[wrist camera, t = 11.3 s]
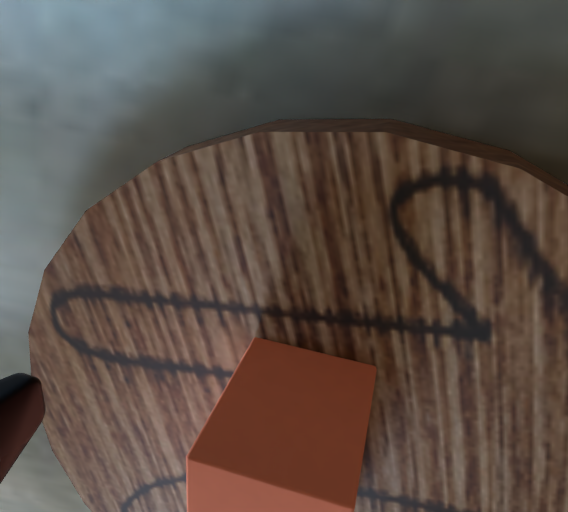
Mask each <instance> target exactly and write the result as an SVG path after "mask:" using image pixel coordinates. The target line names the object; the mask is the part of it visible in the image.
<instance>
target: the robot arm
mask: <svg viewBox="0 0 568 512" xmlns="http://www.w3.org/2000/svg"><path fill="white" fill-rule="evenodd" d="M45 411H46V406H45V400H44V395H43V389H42V384H41V381H40V380H39V378H37V377H34V376H31V375H28V374H24V373H16V374H13V375H11V376H8V377H6V378H3V379H1V380H0V483H1V482H2V480H3V479H4V477H5V476H6V474H7V473H8V471H9V470H10V468H11V467H12V465H13V464H14V462H15V461H16V460H17V458H18V457H19V455H20V454H21V452H22V451H23V449H24V448H25V446H26V445H27V443H28V442H29V440H30V439H31V437H32V436H33V434H34V433H35V431H36V430H37V428H38V427H39V425H40V424H41V422H42V420H43V418H44V416H45Z"/></svg>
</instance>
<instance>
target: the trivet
mask: <svg viewBox="0 0 568 512" xmlns="http://www.w3.org/2000/svg"><path fill="white" fill-rule="evenodd" d="M28 333H29V348H30V363H31V376H34V377H37V378H39V380H40V381H41V384H42V389H43V395H44V400H45V406H46V411H45V416H44V418H43V420H42V422H43V425H44V428H45V431H46V434H47V437H48V439H49V442H50V445H51V448H52V451H53V453H54V454H55V456H56V457H57V459H58V461H59V462H60V464H61V466H62V467H63V469H64V471H65V472H66V474H67V475H68V477H69V479H70V480H71V482H72V484H73V485H74V487H75V489H76V490H77V492H78V494H79V495H80V497H81V498H82V500H83V502H84V503H85V504H86V506H87V507H88V508H89V509H90V510H91V511H92V512H187V490H186V456H187V454H188V452H189V451H190V449H191V447H192V445H193V444H194V442H195V440H196V438H197V437H198V435H199V433H200V431H201V430H202V428H203V426H204V424H205V423H206V421H207V419H208V417H209V415H210V414H211V412H212V410H213V408H214V407H215V405H216V403H217V401H218V400H219V398H220V396H221V394H222V393H223V391H224V389H225V387H226V386H227V384H228V382H229V380H230V379H231V377H232V375H233V373H234V372H235V370H236V368H237V366H238V364H239V363H240V361H241V359H242V357H243V356H244V354H245V352H246V350H247V349H248V347H249V345H250V343H251V342H252V340H253V338H254V337H257V338H262V339H266V340H270V341H274V342H278V343H282V344H286V345H291V346H295V347H299V348H303V349H307V350H311V351H315V352H320V353H324V354H328V355H332V356H336V357H340V358H344V359H348V360H353V361H357V362H361V363H365V364H369V365H373V366H376V369H377V371H376V377H375V384H374V390H373V396H372V403H371V409H370V415H369V422H368V428H367V434H366V441H365V447H364V453H363V460H362V466H361V472H360V479H359V485H358V491H357V498H356V504H355V509H354V512H568V185H567V184H565V183H563V182H562V181H560V180H558V179H557V178H555V177H553V176H552V175H550V174H548V173H546V172H545V171H543V170H541V169H540V168H538V167H536V166H535V165H533V164H531V163H530V162H528V161H526V160H524V159H523V158H521V157H519V156H518V155H516V154H514V153H513V152H511V151H509V150H505V149H501V148H498V147H494V146H490V145H487V144H483V143H479V142H475V141H472V140H468V139H464V138H460V137H457V136H453V135H449V134H445V133H442V132H438V131H434V130H431V129H427V128H423V127H419V126H416V125H412V124H408V123H404V122H401V121H397V120H393V119H284V120H276V121H272V122H269V123H266V124H262V125H259V126H256V127H252V128H249V129H245V130H242V131H239V132H235V133H232V134H229V135H225V136H222V137H218V138H215V139H212V140H208V141H205V142H201V143H198V144H195V145H191V146H188V147H185V148H183V149H181V150H179V151H177V152H175V153H173V154H171V155H169V156H167V157H165V158H163V159H161V160H159V161H157V162H156V163H154V164H153V165H151V166H150V167H148V168H147V169H145V170H144V171H143V172H141V173H140V174H138V175H137V176H135V177H134V178H132V179H131V180H130V181H128V182H127V183H125V184H124V185H122V186H121V187H119V188H118V189H117V190H115V191H114V192H112V193H111V194H109V195H108V196H106V197H105V198H104V199H102V200H101V201H99V202H98V203H96V204H95V205H93V206H92V207H90V208H89V209H88V210H86V211H85V213H84V214H83V216H82V217H81V218H80V220H79V221H78V223H77V224H76V226H75V227H74V228H73V230H72V231H71V233H70V234H69V236H68V237H67V239H66V240H65V241H64V243H63V244H62V246H61V247H60V249H59V250H58V251H57V253H56V254H55V256H54V257H53V259H52V260H51V261H50V263H49V264H48V266H47V267H46V269H45V270H44V274H43V278H42V282H41V286H40V289H39V293H38V297H37V301H36V305H35V309H34V313H33V317H32V320H31V324H30V328H29V332H28Z"/></svg>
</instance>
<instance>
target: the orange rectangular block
mask: <svg viewBox="0 0 568 512" xmlns="http://www.w3.org/2000/svg"><path fill="white" fill-rule="evenodd" d="M376 371H377V369H376V366H373V365H369V364H365V363H361V362H357V361H353V360H348V359H344V358H340V357H336V356H332V355H328V354H324V353H320V352H315V351H311V350H307V349H303V348H299V347H295V346H291V345H286V344H282V343H278V342H274V341H270V340H266V339H262V338H257V337H254V338H253V340H252V342H251V343H250V345H249V347H248V349H247V350H246V352H245V354H244V356H243V357H242V359H241V361H240V363H239V364H238V366H237V368H236V370H235V372H234V373H233V375H232V377H231V379H230V380H229V382H228V384H227V386H226V387H225V389H224V391H223V393H222V394H221V396H220V398H219V400H218V401H217V403H216V405H215V407H214V408H213V410H212V412H211V414H210V415H209V417H208V419H207V421H206V423H205V424H204V426H203V428H202V430H201V431H200V433H199V435H198V437H197V438H196V440H195V442H194V444H193V445H192V447H191V449H190V451H189V452H188V454H187V456H186V490H187V512H354V509H355V504H356V498H357V491H358V485H359V479H360V472H361V466H362V460H363V453H364V447H365V441H366V434H367V428H368V422H369V415H370V409H371V403H372V396H373V390H374V384H375V377H376Z"/></svg>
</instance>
